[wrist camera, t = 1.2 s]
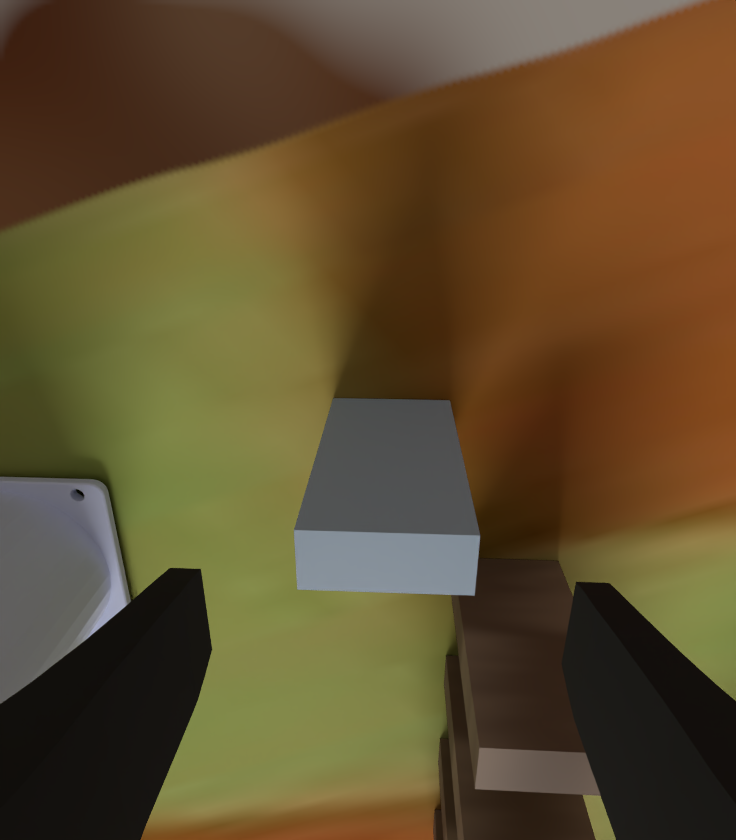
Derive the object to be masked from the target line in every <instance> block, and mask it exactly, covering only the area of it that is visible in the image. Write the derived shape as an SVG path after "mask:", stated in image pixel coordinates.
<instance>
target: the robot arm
mask: <svg viewBox="0 0 736 840" xmlns="http://www.w3.org/2000/svg"><path fill="white" fill-rule="evenodd" d="M76 489H78V490H80V491H82V492H83V494H84V496H82V495H80V494H78V493H77V491H76ZM211 651H212V646H211V639H210V631H209V624H208V617H207V610H206V603H205V596H204V589H203V582H202V575H201V569H185V568H170V569H168V570H167V571H166V572H165V573H163V574H162V575H161V576H160V577H159V578H158V579H156V580H155V581H154V582H153V583H152V584H151V585H149V586H148V587H147V588H146V589H145V590H144V591H143V592H141V593H140V594H139V595H138V596H137V597H136V598H135V599H133V600H132V601H131V600H130V595H129V590H128V585H127V580H126V575H125V570H124V565H123V561H122V556H121V551H120V546H119V541H118V536H117V531H116V526H115V522H114V517H113V512H112V507H111V502H110V497H109V492H108V489H107V487H106V486H105V485H104V484H103V483H102V482H100V481H98V480H94V479H66V478H28V477H0V840H140V839H141V837H142V834H143V831H144V829H145V826H146V823H147V821H148V819H149V816H150V814H151V811H152V809H153V807H154V804H155V802H156V799H157V797H158V795H159V792H160V790H161V788H162V785H163V783H164V780H165V778H166V776H167V773H168V771H169V768H170V766H171V764H172V761H173V759H174V757H175V754H176V752H177V749H178V747H179V745H180V742H181V740H182V737H183V735H184V733H185V730H186V728H187V725H188V723H189V720H190V718H191V716H192V713H193V711H194V708H195V706H196V703H197V701H198V697H199V694H200V691H201V687H202V684H203V680H204V677H205V673H206V670H207V666H208V662H209V659H210V655H211ZM561 664H562V669H563V673H564V678H565V683H566V688H567V692H568V696H569V701H570V705H571V709H572V713H573V718H574V721H575V724H576V727H577V730H578V732H579V735H580V738H581V741H582V744H583V747H584V750H585V753H586V755H587V758H588V761H589V764H590V767H591V770H592V773H593V775H594V778H595V781H596V784H597V787H598V789H599V792H600V795H601V798H602V801H603V804H604V806H605V809H606V812H607V815H608V818H609V820H610V823H611V826H612V829H613V832H614V835H615V837H616V840H736V701H735V700H734V699H733V698H731V697H730V696H729V695H728V694H727V693H725V692H724V691H723V690H722V689H721V688H720V687H719V686H717V685H716V684H715V683H714V682H713V681H712V680H711V679H710V678H708V677H707V676H706V675H705V674H704V673H703V672H702V671H701V670H699V669H698V668H697V667H696V666H695V665H694V664H693V663H692V662H691V661H690V660H689V659H687V658H686V657H685V656H684V655H683V654H682V653H681V652H680V651H679V650H678V649H677V648H676V647H675V646H674V645H673V644H671V643H670V642H669V641H668V640H667V639H666V638H665V637H664V636H663V635H662V634H661V633H660V632H659V631H658V630H657V629H656V628H655V627H654V626H653V625H652V624H651V623H650V622H649V621H648V620H647V619H646V618H645V617H644V616H643V615H642V614H640V613H639V612H638V611H637V610H636V609H635V608H634V607H633V606H632V605H631V604H630V603H629V602H628V601H627V600H626V599H625V598H624V597H623V596H622V595H621V594H620V593H619V592H618V591H617V590H616V589H615V588H614V587H613V586H612V585H611V584H609V583H591V582H576V585H575V591H574V596H573V602H572V608H571V613H570V619H569V624H568V630H567V635H566V641H565V647H564V652H563V658H562V663H561Z"/></svg>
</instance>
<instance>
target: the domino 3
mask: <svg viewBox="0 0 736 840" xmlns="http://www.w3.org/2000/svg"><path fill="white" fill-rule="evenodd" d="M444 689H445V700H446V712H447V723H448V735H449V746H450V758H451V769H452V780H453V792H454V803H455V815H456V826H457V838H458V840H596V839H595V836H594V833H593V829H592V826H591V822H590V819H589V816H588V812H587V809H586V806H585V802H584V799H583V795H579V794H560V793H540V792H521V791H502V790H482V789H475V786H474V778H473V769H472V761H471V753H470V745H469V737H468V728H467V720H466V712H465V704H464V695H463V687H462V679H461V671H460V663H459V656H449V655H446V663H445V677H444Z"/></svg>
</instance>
